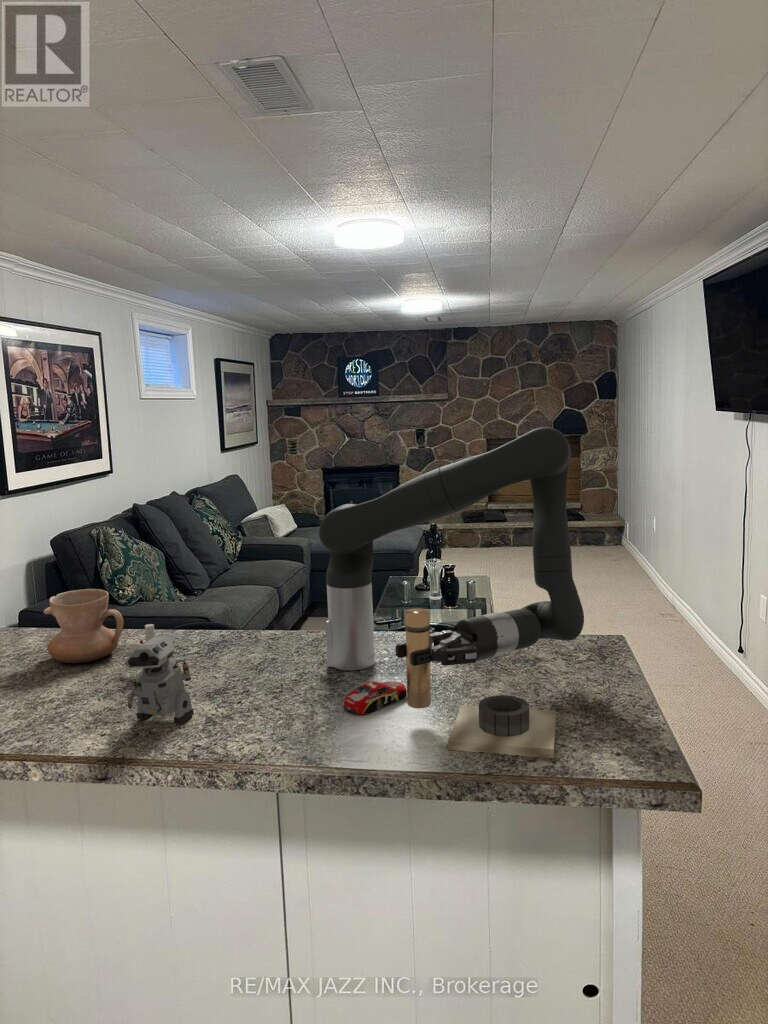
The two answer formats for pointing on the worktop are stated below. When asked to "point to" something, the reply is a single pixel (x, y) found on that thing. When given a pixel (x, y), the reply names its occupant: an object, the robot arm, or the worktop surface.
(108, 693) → the worktop surface
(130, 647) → the pipe connector
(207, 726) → the worktop surface
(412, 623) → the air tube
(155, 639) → the figurine
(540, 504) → the robot arm
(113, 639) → the ceramic jug
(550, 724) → the collar plate
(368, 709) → the race car
